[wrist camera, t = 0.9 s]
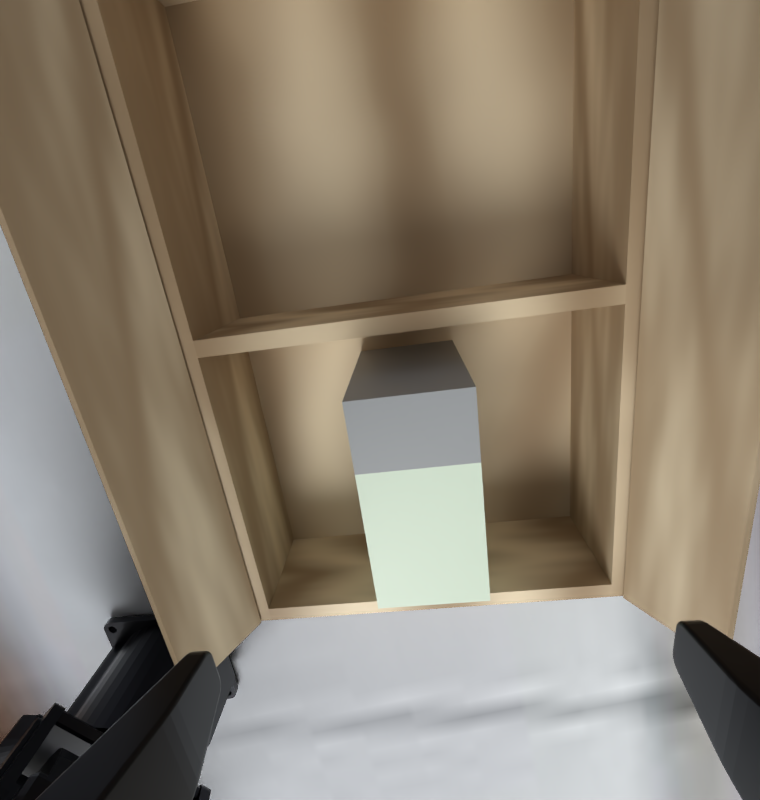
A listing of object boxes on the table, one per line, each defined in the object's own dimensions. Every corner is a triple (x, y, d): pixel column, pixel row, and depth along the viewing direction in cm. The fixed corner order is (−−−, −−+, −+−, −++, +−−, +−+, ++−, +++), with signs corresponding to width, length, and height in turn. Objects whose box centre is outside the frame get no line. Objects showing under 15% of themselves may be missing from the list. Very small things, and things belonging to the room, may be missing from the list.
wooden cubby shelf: (252, 548, 24) (181, 694, 16) (99, 5, 16) (-183, -214, 8) (618, 517, 22) (733, 663, 14) (651, -109, 14) (944, -520, 6)
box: (384, 506, 22) (378, 608, 16) (360, 351, 19) (342, 401, 13) (465, 499, 22) (490, 600, 16) (452, 340, 19) (475, 386, 13)
